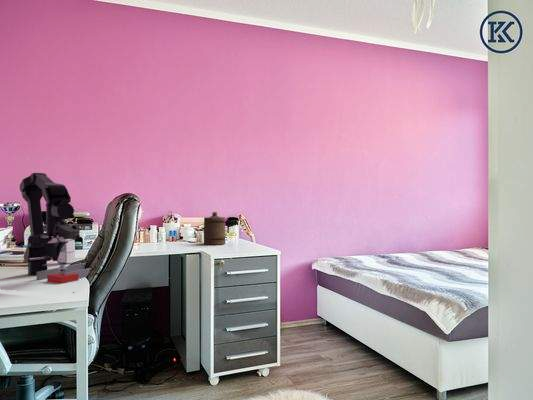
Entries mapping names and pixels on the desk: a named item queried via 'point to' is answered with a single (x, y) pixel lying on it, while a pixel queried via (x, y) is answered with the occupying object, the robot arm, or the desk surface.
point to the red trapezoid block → (62, 276)
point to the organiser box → (70, 269)
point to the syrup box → (67, 252)
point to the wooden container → (214, 230)
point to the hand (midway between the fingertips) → (55, 261)
